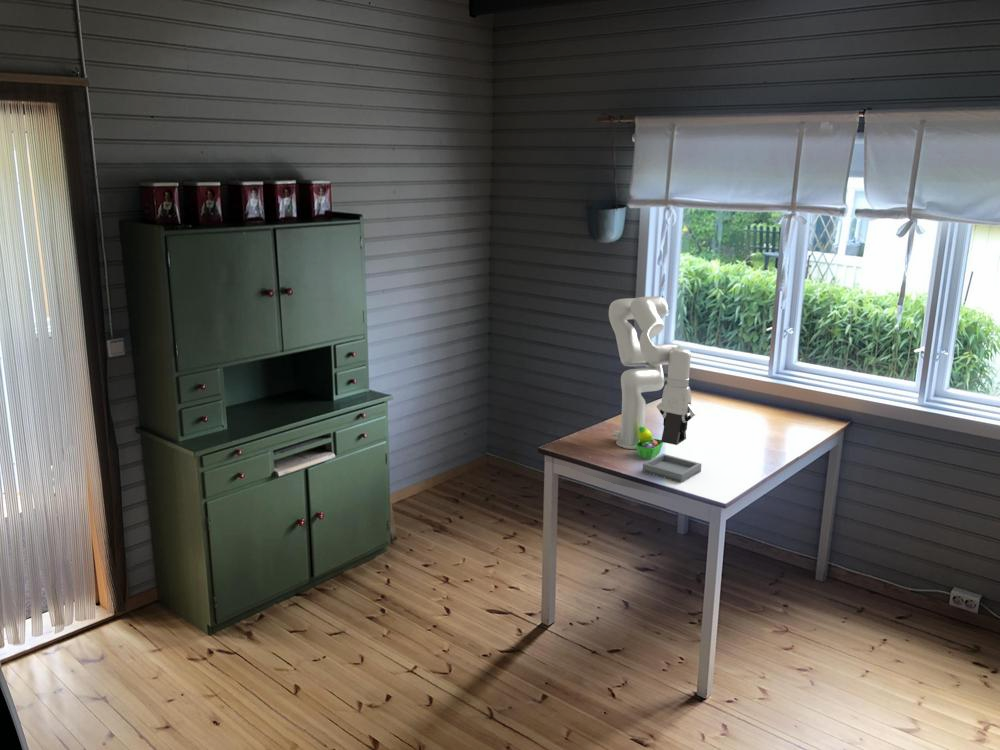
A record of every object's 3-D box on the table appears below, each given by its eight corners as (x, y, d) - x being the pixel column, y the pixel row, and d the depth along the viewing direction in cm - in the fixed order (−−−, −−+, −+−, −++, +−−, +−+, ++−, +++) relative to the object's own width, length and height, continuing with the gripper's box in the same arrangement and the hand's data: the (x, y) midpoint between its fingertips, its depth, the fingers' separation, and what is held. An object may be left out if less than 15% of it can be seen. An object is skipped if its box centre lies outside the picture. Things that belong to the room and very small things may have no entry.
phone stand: (676, 445, 289) (678, 413, 286) (660, 442, 292) (662, 410, 289) (686, 438, 296) (688, 407, 293) (671, 435, 299) (673, 404, 296)
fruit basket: (652, 461, 308) (654, 433, 305) (631, 456, 312) (633, 429, 310) (663, 452, 317) (665, 425, 314) (643, 448, 322) (644, 421, 319)
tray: (642, 471, 297) (643, 464, 296) (662, 461, 308) (663, 453, 307) (681, 482, 287) (682, 474, 286) (700, 471, 298) (701, 463, 297)
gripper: (651, 380, 292) (648, 427, 296) (695, 388, 281) (691, 437, 285) (662, 376, 297) (659, 422, 301) (704, 384, 286) (701, 432, 291)
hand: (674, 429), depth 293 cm, fingers closed on phone stand, 6 cm apart
